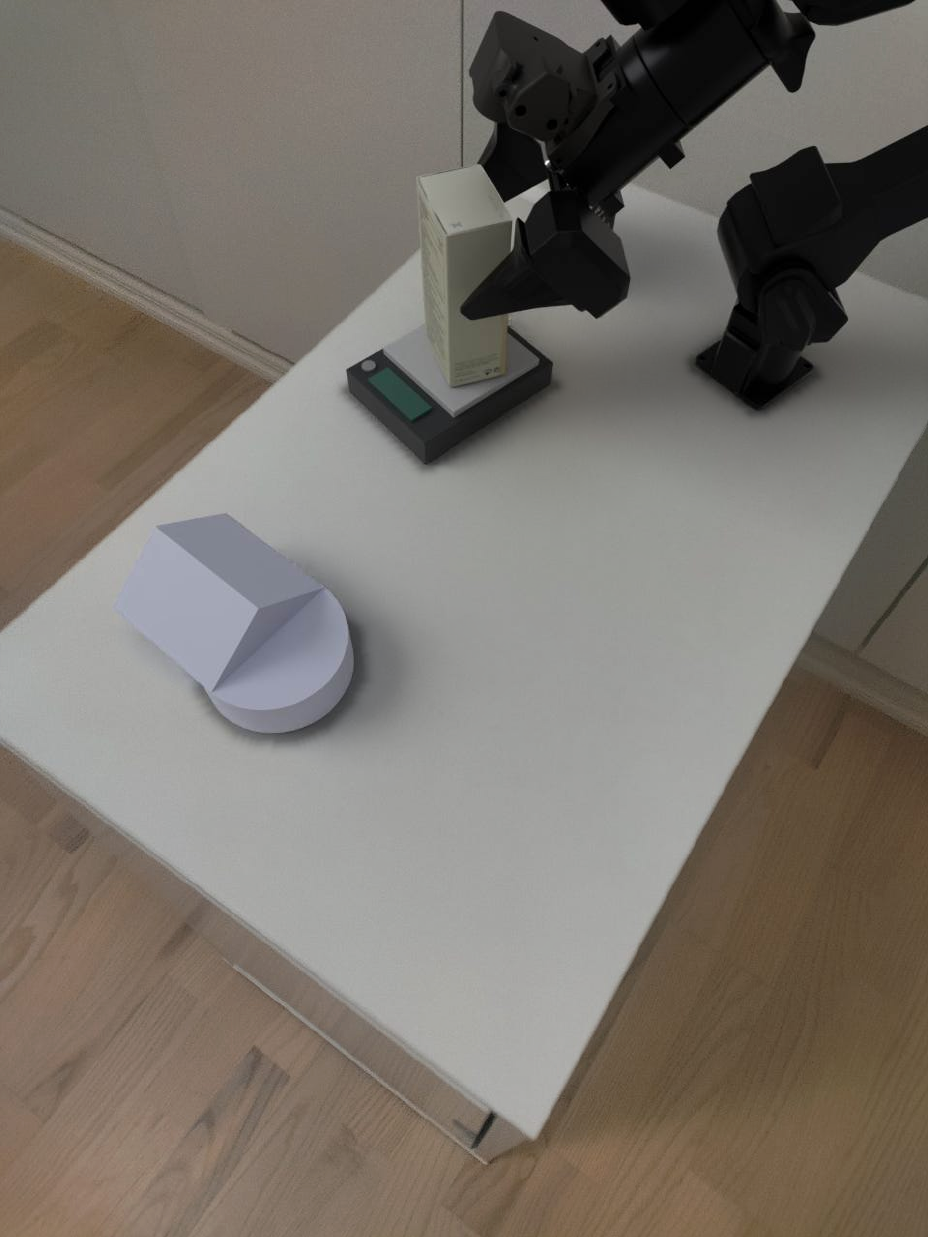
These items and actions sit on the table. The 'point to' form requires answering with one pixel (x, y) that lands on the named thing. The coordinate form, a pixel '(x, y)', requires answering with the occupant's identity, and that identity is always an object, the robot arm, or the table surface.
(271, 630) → the wedge on round base
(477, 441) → the table surface
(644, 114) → the robot arm
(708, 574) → the table surface
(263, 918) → the table surface
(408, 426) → the kitchen scale
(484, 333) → the cosmetic box
